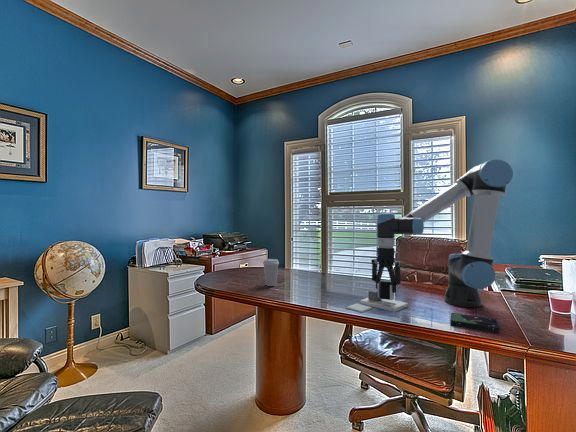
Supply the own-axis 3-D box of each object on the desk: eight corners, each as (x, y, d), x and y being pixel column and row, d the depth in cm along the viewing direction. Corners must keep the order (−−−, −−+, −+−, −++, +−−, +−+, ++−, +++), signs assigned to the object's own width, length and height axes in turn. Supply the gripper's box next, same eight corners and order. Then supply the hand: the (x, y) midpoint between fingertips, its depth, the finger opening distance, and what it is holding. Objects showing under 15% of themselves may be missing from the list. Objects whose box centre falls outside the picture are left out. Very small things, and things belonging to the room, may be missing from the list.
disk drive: (496, 326, 110) (450, 318, 117) (496, 319, 110) (451, 311, 117) (499, 336, 101) (450, 327, 108) (499, 327, 101) (450, 319, 108)
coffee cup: (264, 283, 176) (264, 258, 176) (280, 284, 175) (280, 258, 175) (261, 287, 167) (261, 260, 167) (277, 287, 165) (277, 261, 166)
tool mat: (372, 308, 128) (372, 307, 128) (362, 312, 123) (362, 311, 123) (356, 304, 134) (356, 303, 134) (346, 308, 129) (346, 306, 129)
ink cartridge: (391, 298, 134) (391, 281, 134) (391, 299, 132) (392, 282, 132) (379, 297, 135) (380, 280, 135) (380, 298, 133) (380, 281, 133)
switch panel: (407, 306, 132) (407, 302, 132) (395, 312, 124) (395, 308, 124) (373, 298, 145) (373, 295, 145) (360, 303, 136) (360, 300, 136)
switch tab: (381, 299, 138) (381, 290, 138) (376, 301, 134) (376, 292, 134) (374, 297, 141) (374, 289, 141) (368, 299, 137) (368, 290, 137)
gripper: (363, 246, 138) (363, 295, 138) (401, 249, 124) (401, 304, 124) (371, 245, 143) (371, 293, 143) (409, 248, 130) (409, 300, 129)
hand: (385, 298), depth 133 cm, fingers closed on ink cartridge, 5 cm apart
